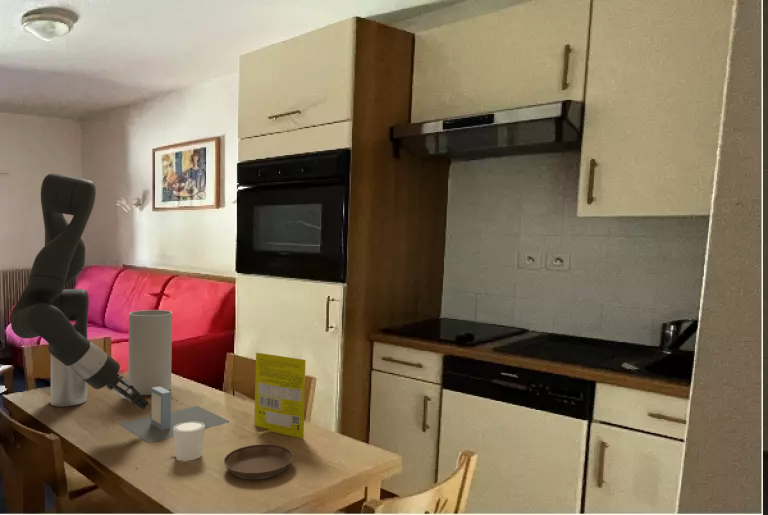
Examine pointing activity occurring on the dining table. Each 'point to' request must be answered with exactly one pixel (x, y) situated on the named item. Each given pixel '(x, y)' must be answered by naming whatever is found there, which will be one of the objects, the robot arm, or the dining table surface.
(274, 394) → the food package
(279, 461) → the saucer
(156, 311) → the cylinder vase
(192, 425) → the white tapered cup
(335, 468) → the dining table surface
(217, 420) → the mat
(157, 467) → the dining table surface
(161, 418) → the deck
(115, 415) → the dining table surface
